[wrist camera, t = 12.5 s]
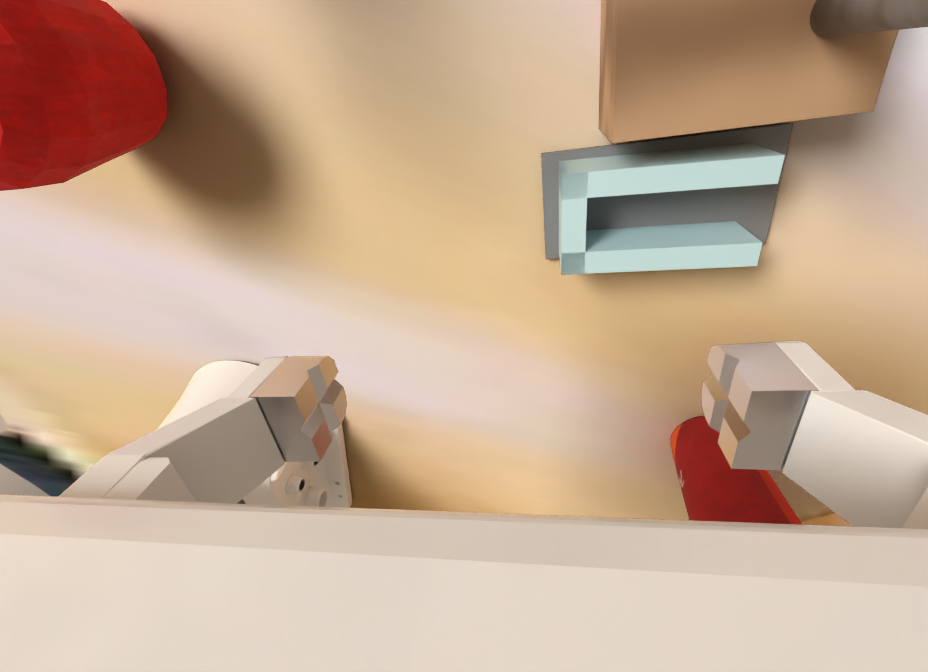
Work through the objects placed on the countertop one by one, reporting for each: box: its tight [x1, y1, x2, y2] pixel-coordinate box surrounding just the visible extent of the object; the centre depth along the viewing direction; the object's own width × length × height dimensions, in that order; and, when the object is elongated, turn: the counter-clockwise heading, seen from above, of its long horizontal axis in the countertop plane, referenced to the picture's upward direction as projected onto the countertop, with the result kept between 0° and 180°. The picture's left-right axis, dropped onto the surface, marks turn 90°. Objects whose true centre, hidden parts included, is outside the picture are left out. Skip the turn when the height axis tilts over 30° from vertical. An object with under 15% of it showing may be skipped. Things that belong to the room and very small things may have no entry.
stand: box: [599, 0, 928, 143], centre depth 17 cm, size 8×11×15 cm
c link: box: [559, 143, 785, 275], centre depth 26 cm, size 11×6×4 cm, turn 96°
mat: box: [541, 123, 793, 259], centre depth 28 cm, size 7×14×1 cm, turn 98°
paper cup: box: [671, 416, 802, 525], centre depth 32 cm, size 8×8×14 cm
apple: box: [0, 0, 167, 191], centre depth 23 cm, size 10×10×14 cm
